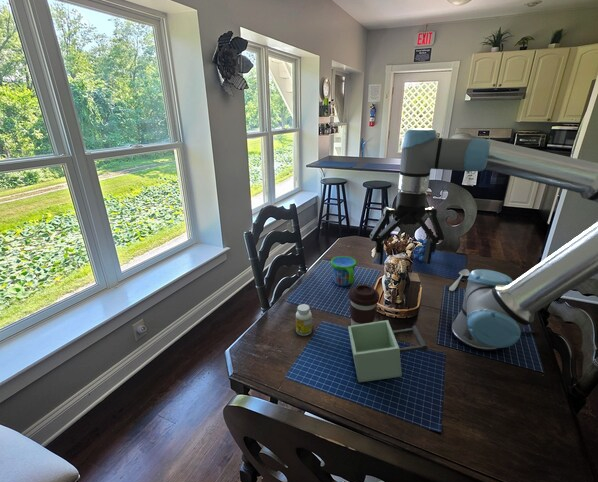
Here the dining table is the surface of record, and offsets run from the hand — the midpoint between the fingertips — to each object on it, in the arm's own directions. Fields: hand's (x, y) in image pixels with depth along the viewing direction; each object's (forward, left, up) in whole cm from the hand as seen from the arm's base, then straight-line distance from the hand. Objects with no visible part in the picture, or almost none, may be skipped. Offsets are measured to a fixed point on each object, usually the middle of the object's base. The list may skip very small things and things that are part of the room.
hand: (403, 262), depth 93 cm
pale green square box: (+4, +11, -27) cm, 29 cm away
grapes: (-29, -57, -29) cm, 70 cm away
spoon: (-38, -37, -29) cm, 61 cm away
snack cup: (+12, -37, -29) cm, 49 cm away
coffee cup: (+9, -7, -29) cm, 31 cm away
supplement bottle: (+29, -5, -29) cm, 41 cm away
